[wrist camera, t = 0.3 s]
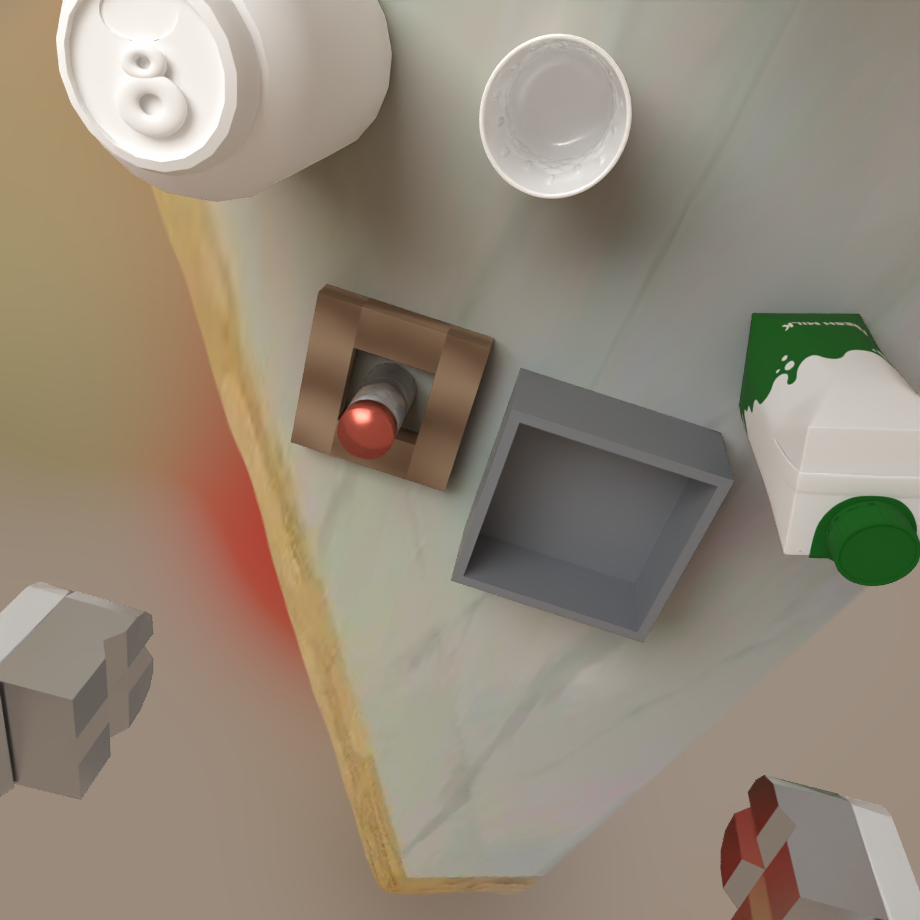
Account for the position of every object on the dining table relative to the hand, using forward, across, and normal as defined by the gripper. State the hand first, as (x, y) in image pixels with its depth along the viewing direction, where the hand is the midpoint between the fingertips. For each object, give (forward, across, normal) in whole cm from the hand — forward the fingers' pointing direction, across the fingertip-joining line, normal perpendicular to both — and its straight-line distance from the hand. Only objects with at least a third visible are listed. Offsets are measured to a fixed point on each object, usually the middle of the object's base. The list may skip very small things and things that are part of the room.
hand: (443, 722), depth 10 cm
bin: (+47, -8, +23) cm, 53 cm away
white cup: (+47, +1, -4) cm, 47 cm away
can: (+47, +18, -3) cm, 51 cm away
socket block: (+47, +9, +19) cm, 51 cm away
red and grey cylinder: (+47, +9, +19) cm, 51 cm away
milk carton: (+47, -19, +9) cm, 52 cm away
